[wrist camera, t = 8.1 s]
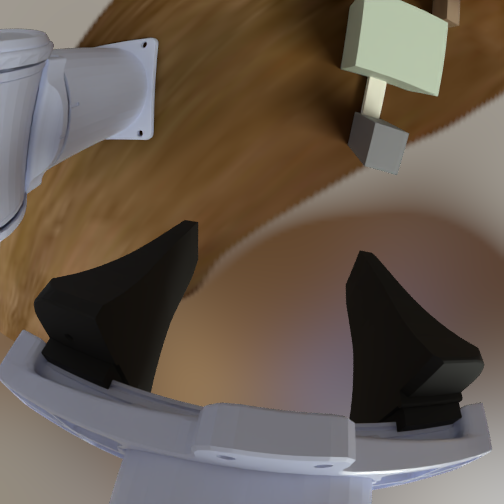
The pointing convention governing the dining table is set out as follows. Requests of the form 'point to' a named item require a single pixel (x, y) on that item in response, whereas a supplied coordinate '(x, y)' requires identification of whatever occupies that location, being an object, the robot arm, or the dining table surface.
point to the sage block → (390, 70)
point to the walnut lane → (447, 11)
